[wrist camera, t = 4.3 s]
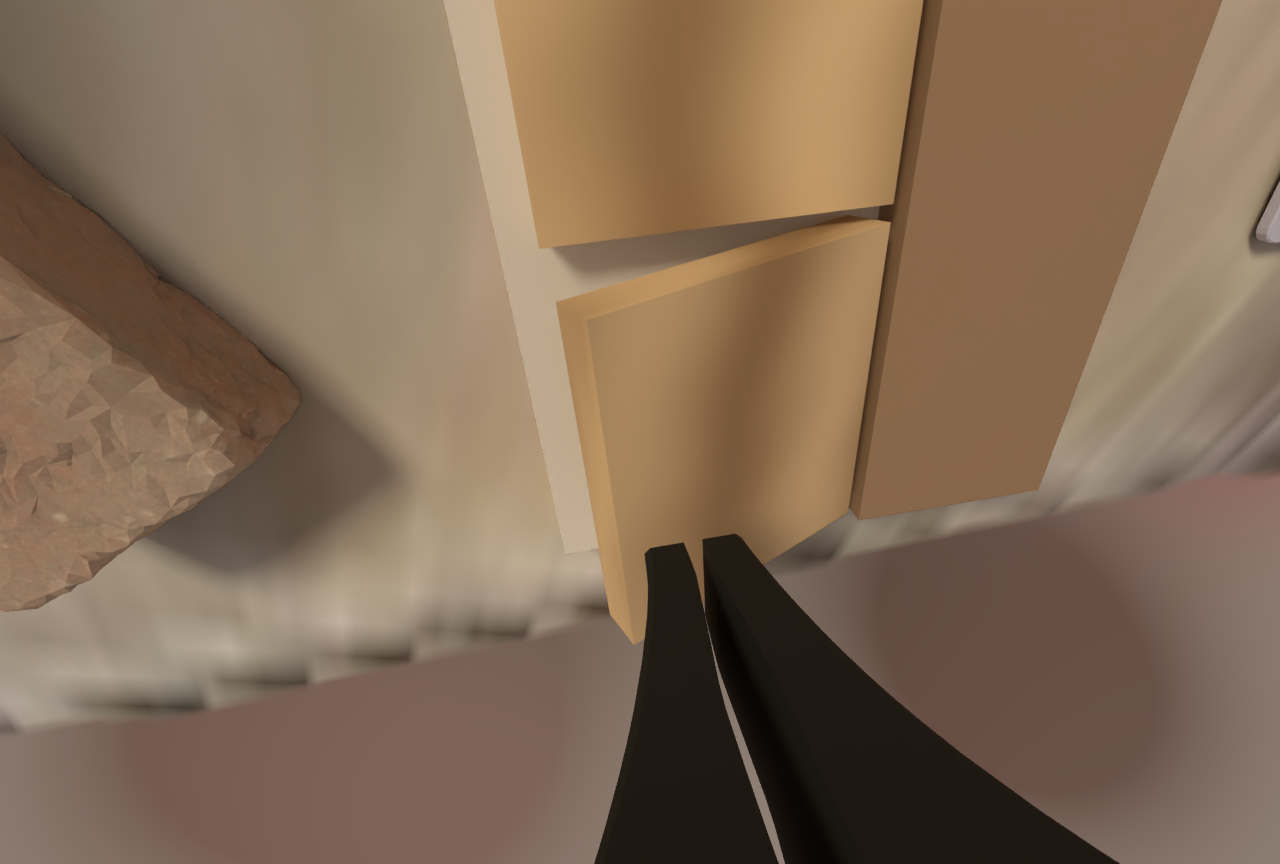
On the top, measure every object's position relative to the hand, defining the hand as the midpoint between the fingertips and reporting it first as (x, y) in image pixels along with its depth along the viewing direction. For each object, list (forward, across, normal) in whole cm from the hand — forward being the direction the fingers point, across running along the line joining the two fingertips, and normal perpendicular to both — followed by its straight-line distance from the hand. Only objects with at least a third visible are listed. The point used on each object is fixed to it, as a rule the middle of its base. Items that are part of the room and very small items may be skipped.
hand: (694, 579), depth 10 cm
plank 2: (+5, -2, 0) cm, 5 cm away
